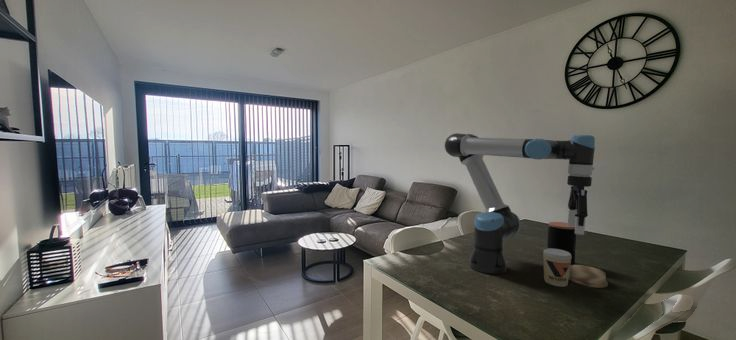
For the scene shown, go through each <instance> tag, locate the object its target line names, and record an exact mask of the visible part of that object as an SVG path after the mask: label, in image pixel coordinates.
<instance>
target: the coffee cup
mask: <svg viewBox="0 0 736 340" xmlns="http://www.w3.org/2000/svg"><path fill="white" fill-rule="evenodd" d="M542 254H543V258H542V259H543V260H542V261H543V278H544V279H543V280H544V281H545V283H547V284H548V285H550V286H551V285H552V286H555V287H561V288H562V287H563V288H564V287H567V286H568V285H569V272H570V264H571V258H572V256H571V254H570V253H569V252H567V251H564V250H560V249H553V248H545V249H543V251H542Z"/></svg>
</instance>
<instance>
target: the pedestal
mask: <svg viewBox="0 0 736 340" xmlns="http://www.w3.org/2000/svg"><path fill="white" fill-rule="evenodd" d="M606 275H607V273H606V272H605V271H603V270H601V269H600V268H596V267H592V266H589V265H583V264H574V265H571V266H570V272H569V279H568V281H569V280H570V281H571V282H573V283H575V284H578V285H581V286H583V287H589V288H595V289H596V288H597V289H599V288H600V289H603V288H607V287H608V285H609V282H608V281H607V280H606V279H607V276H606Z"/></svg>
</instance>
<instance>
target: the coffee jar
mask: <svg viewBox="0 0 736 340" xmlns="http://www.w3.org/2000/svg"><path fill="white" fill-rule="evenodd" d="M548 226H549V227H548V228H547V244H546V245H547V248H553V249H560V250H564V251H567V252H569V253H570V254H571V256H572V258H571V264H570V266H571V265H576V264H575V263H576V244H577V234H575V226H569V225H568V222H563V221H549V222H548ZM547 248H546V249H547Z"/></svg>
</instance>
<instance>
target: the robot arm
mask: <svg viewBox="0 0 736 340" xmlns="http://www.w3.org/2000/svg"><path fill="white" fill-rule="evenodd" d="M595 140H596V139H595V136H593V135H589V134H582V135H581V134H579V135H578V134H575V135H571V137H570V140H569V139H568V140H552V139H551V140H550V139H544V138H508V137H507V138H504V137H503V138H502V137H499V138H498V137H478V136H477V135H475V134H472V133H471V134H470V133H459V132H458V133H452V134H450V135H449V136H448V137H447V138H446V139H445V142H444V149H445V152H446V153H447V154H448V155H449V156H451V157H454V158H458V160H459V162H460V163H461V164H462V165H464V166H465V167H466V169H467V171H468V173H469V176H470V178H471V181H472V183H473V184H474V186H475V189H476V191H477V193H478V196H479V198H480V200H481V202H482V205H483V208H484V209H485V211H484V212H480V213H477V214H476V216H475V217H474V225H473V226H474V236H473V250H472V252H471V255H470V257H469V260H468V261H469V263H468V264H469V265H468V266H469V267H470V268H471V269H472V270H474V271H477V272H480V273H483V274H488V275H489V274H491V275H501V274H504V273H506V272H507V270H508V269H507V267H508V266H507V265H508V264H507V261H506V258H505V254H504V252H503V251H504V249H503V248H504V240H506V239H510V238H512V237H514V236H516V235H517V234H518V233H519V232H520V229H521V220H520V217H519V216H518V215H517V214H516V213H514V212H513V211H512V209H511V208H510V205H507V204H505V203H504V201H503V200H502V197H501V194H500V193H499V190H498V188H497V186H496V184H495V182H494V180H493V177H492V176H491V174H490V172H489V169H488V167H487V165H486V163H485V161H484V159H483V158H484V156H493V157H504V158H505V157H506V158H508V157H509V158H523V159H533V160H566V161H568V168H567V169H568V170H567V174H568V176H567V181H566V182H567V183H566V184H567V185H569V186H570V192H569V199H568V202H567V203H568V204H567V208H568V215H567V223H568V225H569V226H575V234H576V235H582V236H583V235H584V236H585V227H586V218H587V217H588V215H589V214H588V195H587V194H588V190H586V189H585V187H586V188H587V187H588V188H589V187H591V186H592V181H593V177H592V175H593V171H594V170H595V167H594V165H593V164H594V159H595V158H594V157H595V150H596V147H595V143H596V142H595Z"/></svg>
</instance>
